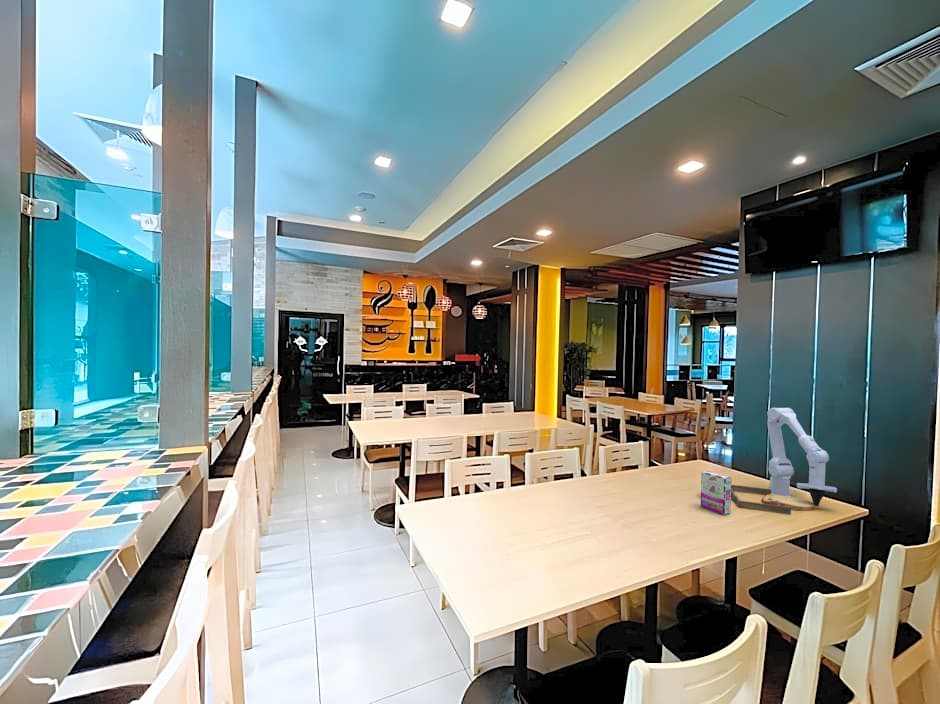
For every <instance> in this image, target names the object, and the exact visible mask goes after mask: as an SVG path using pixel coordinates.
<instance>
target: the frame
mask: <svg viewBox="0 0 940 704" xmlns="http://www.w3.org/2000/svg"><path fill="white" fill-rule="evenodd" d="M735 492H737V493H745V494H753V495H761V496H765V495H769V494H771V489H770V488H763V487H762V488H761V487H757V486H756V487H755V486H747V485H736V484H731V500H732V501H733V502H734V503H735V504H736V506H737V507H738V508H741V509H747V510H753V511H762V512H768V513H777V514H783V515H791V513H792V510H791V507H785V506H778V505H770V504H764V503H762V502H753V501H745V500H741V499H740V498H739V496H738V495H737V494H736V493H735Z"/></svg>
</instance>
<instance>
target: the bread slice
mask: <svg viewBox="0 0 940 704" xmlns="http://www.w3.org/2000/svg"><path fill="white" fill-rule="evenodd" d="M760 501H761V502H760V503H762V504H770V505H778V506H785V507H791V511H796V512H797V511H801V512H811V511H815V510H816V508H817V506H815V505H814V504H813V501H810V500H807V499H804V498H799V497H793V496H792V497H788V496H780V495H774V494H769V495H763V497H761V500H760Z"/></svg>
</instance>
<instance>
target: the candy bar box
mask: <svg viewBox="0 0 940 704" xmlns="http://www.w3.org/2000/svg"><path fill="white" fill-rule="evenodd" d="M700 477H701V481H700V482H701V484H700V507H701V508H703V509H706V510H710V511H711V512H714V513H717V514H720V515H722V516H726V515H730V514H731V503H732V502H731V500H732V498H731V485H732V477H731V476H727V475H725V474H721V473H718V472H715V471H710V470H705V471H701V476H700Z"/></svg>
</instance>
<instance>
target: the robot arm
mask: <svg viewBox="0 0 940 704" xmlns="http://www.w3.org/2000/svg"><path fill="white" fill-rule="evenodd" d="M766 414H767V422H766V423H767V424H766V425H767V430H768V436H769V442H770V449H771V455H772V458H771V459H770V460H769V461H768V473H769V475H770V478H769V489H771V494H774V495H780V496H788V497H793V496H792V495H791V494H790V488H791V487H790V486H791V485H790V483H791V482H790V481H791V480H790V479H791V478H792V476H794V474H795V468H794V467H793V465H792V461H791V460H790V459H788V458H787V454H786V449H785V443H784V439H783V438H784V437H783V432H782V426H783V425H785V424H786V425H788V427H789V428H790V429H791V431H792V432H793V433H794V434H795V435H796V436H797V438H798V443H799V445H800V446H801V447H802V449H803V451H804V452H805V453H806V455H805V456H806V460H807V461H808V462H807V463H808V466H809V469H808V482H807V483H803V482H801V483H800V482H797V483H796V488H798V489H807V490H808V492H809V495H810V497H811V500H812V503H813V504H814V505H815V507H819V506H820V503H821V500H822V499H823V497H824V496H825V495H826V492H833V493H837V491H838V488H837V487H835V486H830V485H825V484H826V466H827V465H826V463H828V462H829V461H830V456H829V453H828V452H827V451H826V450H824V449H823V448H821V447H820V446H819V445H818V443H817V442H816V441H815V438H814V437H812V435H808V434H807V433H806V431H805V430H804V429H803V426H802V425H801V424H800V422H799V421H798V419H797V414H796V413H795V411H794V410H793V409H792V408H791V407H771V408H770V409H768V411H767V412H766Z"/></svg>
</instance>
